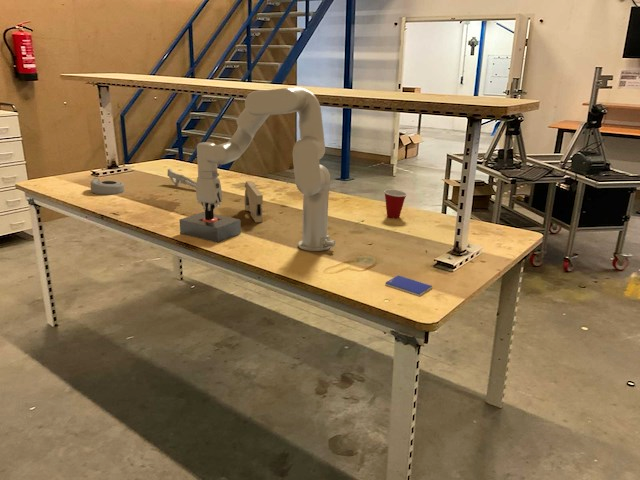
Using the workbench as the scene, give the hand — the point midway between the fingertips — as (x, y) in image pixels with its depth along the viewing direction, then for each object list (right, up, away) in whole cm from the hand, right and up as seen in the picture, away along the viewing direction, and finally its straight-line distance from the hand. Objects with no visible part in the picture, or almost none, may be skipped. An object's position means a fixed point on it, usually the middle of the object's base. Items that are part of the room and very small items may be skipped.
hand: (209, 219), depth 209 cm
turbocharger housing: (-68, +17, +65) cm, 96 cm away
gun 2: (+14, +2, +28) cm, 32 cm away
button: (0, -3, +1) cm, 3 cm away
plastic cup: (+79, +2, +33) cm, 86 cm away
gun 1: (-30, +20, +79) cm, 86 cm away
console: (0, -6, +2) cm, 6 cm away
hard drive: (+73, -24, -44) cm, 88 cm away
